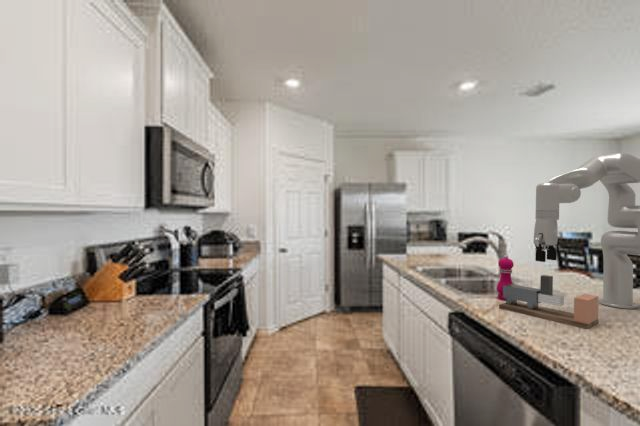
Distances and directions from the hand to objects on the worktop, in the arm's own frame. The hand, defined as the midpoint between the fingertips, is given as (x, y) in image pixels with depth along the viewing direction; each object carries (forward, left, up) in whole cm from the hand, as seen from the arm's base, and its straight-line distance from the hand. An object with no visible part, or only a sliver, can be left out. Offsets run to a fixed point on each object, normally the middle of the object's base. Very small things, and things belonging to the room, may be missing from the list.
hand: (546, 260), depth 129 cm
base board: (0, 0, -21) cm, 21 cm away
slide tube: (0, -4, -16) cm, 17 cm away
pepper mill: (-12, -21, -21) cm, 32 cm away
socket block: (0, +13, -19) cm, 23 cm away
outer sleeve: (0, -9, -19) cm, 21 cm away
